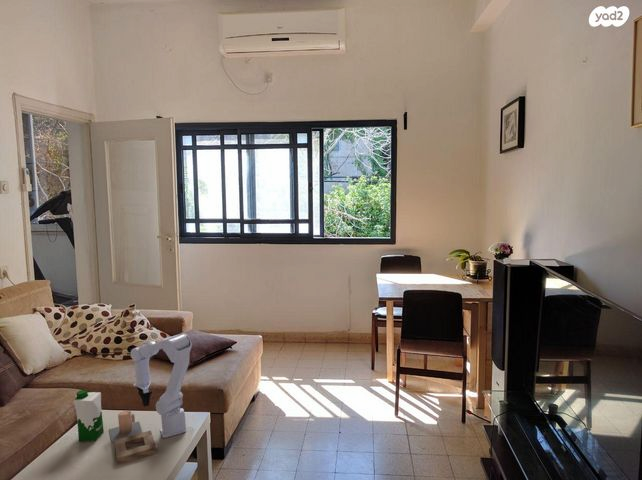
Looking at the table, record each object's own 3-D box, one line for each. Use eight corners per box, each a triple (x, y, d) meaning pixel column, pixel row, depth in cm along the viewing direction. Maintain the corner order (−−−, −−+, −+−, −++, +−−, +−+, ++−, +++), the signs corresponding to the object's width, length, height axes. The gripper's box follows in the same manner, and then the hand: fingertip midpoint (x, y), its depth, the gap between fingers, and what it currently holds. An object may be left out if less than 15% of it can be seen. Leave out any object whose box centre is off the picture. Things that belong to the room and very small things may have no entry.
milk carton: (86, 431, 194) (81, 387, 192) (107, 430, 194) (103, 386, 192) (75, 443, 186) (70, 397, 183) (96, 442, 186) (92, 396, 183)
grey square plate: (139, 422, 201) (139, 421, 201) (142, 434, 190) (142, 434, 190) (109, 429, 195) (109, 429, 195) (111, 443, 185) (111, 442, 185)
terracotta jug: (135, 426, 197) (133, 409, 196) (135, 431, 192) (134, 413, 191) (119, 430, 194) (117, 412, 193) (119, 435, 189) (118, 417, 188)
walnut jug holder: (151, 435, 189) (150, 430, 189) (156, 452, 177) (156, 446, 177) (114, 446, 182) (114, 440, 182) (118, 464, 170) (117, 458, 170)
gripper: (130, 369, 202) (133, 397, 204) (134, 381, 189) (137, 411, 191) (147, 365, 205) (149, 393, 207) (152, 377, 193) (155, 407, 194)
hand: (145, 402), depth 199 cm, fingers open, 7 cm apart
